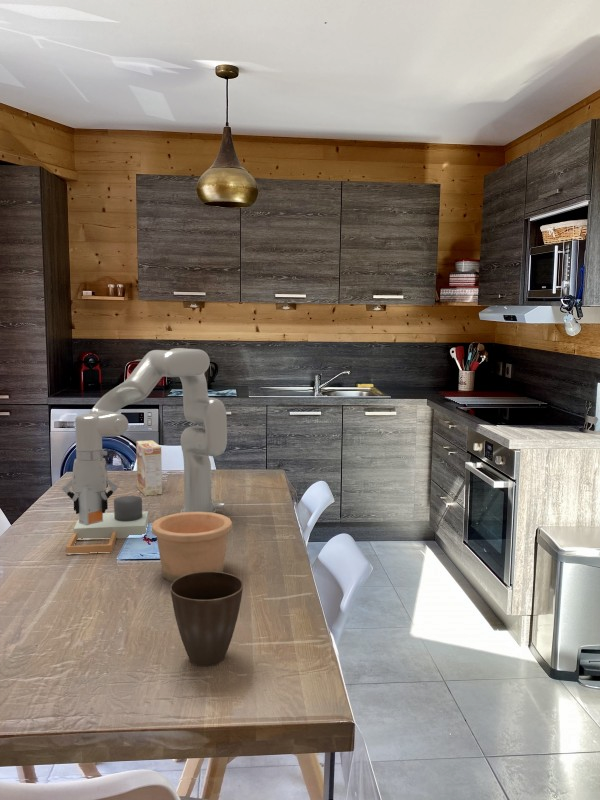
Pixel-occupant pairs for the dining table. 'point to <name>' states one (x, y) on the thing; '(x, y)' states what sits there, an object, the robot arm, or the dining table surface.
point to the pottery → (191, 542)
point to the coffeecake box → (149, 467)
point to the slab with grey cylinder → (112, 526)
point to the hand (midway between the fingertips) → (90, 511)
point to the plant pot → (206, 613)
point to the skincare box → (90, 506)
